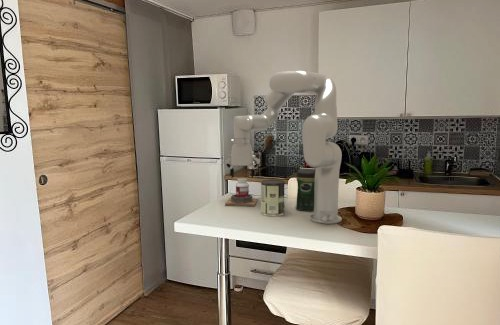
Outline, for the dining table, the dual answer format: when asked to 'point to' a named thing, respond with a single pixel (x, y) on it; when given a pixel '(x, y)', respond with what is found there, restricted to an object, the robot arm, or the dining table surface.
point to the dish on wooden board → (241, 201)
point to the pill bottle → (242, 188)
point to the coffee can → (272, 197)
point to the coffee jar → (305, 189)
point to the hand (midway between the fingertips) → (242, 177)
